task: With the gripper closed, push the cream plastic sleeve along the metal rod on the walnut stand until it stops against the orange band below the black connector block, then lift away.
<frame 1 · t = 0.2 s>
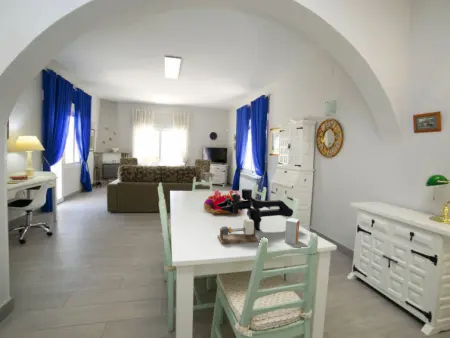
hand: (218, 206, 152), 16 cm above the table, tool horizontal, fingers open, 9 cm apart
small box: (291, 241, 141), on the table
rod stand: (237, 239, 141), on the table
sleeve: (248, 226, 142), point 8 cm above the table, slide at -6.5 cm
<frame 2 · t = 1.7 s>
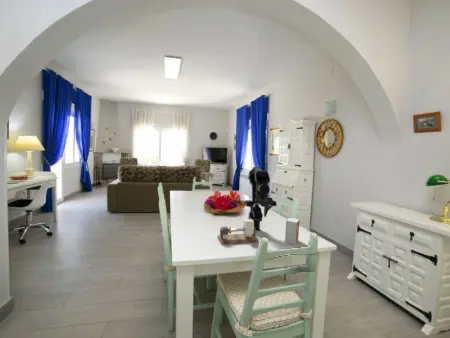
hand: (259, 217, 143), 13 cm above the table, tool pointing down, fingers open, 6 cm apart
nothing on the table moved.
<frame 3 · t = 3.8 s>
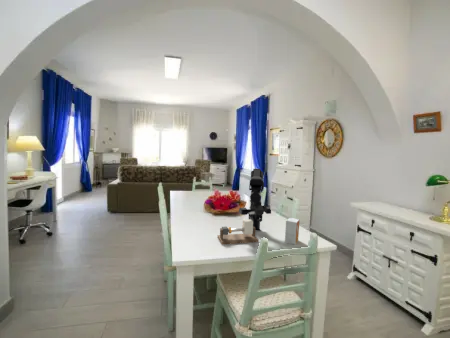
hand: (254, 224, 143), 9 cm above the table, tool pointing down, fingers closed
sleeve: (247, 226, 142), point 8 cm above the table, slide at -5.9 cm, touching gripper
everything else where it was.
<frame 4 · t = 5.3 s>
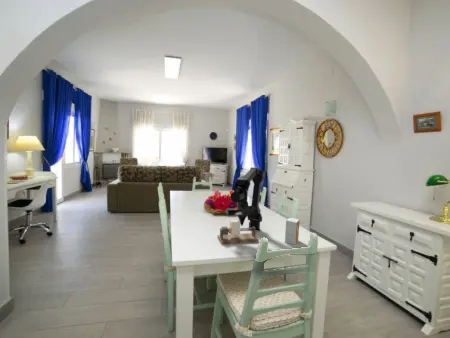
hand: (241, 225, 141), 9 cm above the table, tool pointing down, fingers closed
sleeve: (234, 227, 140), point 8 cm above the table, slide at 2.0 cm, touching gripper, rod stand
everything else where it was.
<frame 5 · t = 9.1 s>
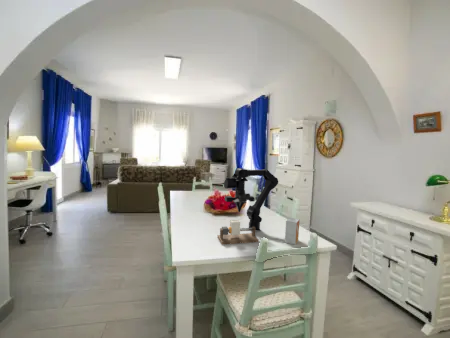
hand: (239, 211, 154), 13 cm above the table, tool pointing down, fingers closed
sleeve: (234, 227, 140), point 8 cm above the table, slide at 2.0 cm, touching rod stand
everything else where it was.
at the end: sleeve slide at 2.0 cm; the gripper is holding nothing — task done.
